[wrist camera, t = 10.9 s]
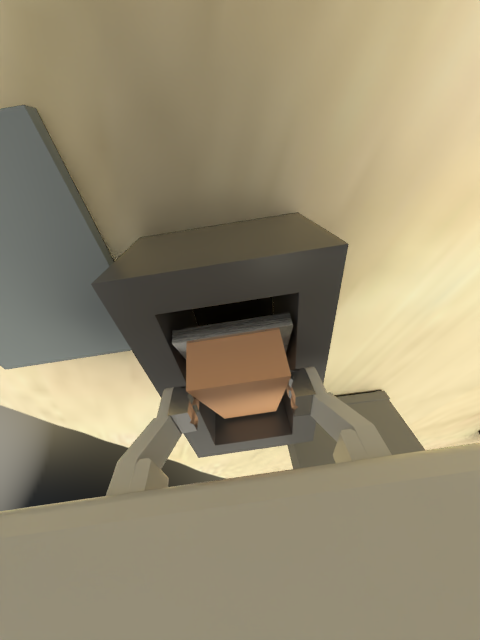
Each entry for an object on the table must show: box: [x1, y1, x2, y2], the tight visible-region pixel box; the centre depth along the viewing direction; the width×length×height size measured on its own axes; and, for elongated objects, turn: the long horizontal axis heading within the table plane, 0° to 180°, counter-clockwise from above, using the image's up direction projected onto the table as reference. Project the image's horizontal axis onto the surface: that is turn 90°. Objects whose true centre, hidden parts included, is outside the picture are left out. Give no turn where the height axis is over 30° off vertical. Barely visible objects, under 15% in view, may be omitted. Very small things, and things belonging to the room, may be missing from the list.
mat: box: [0, 105, 131, 369], centre depth 15 cm, size 14×16×1 cm
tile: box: [186, 329, 291, 419], centre depth 16 cm, size 12×5×2 cm, turn 7°
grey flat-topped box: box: [288, 390, 425, 469], centre depth 20 cm, size 14×6×25 cm, turn 95°
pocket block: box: [91, 213, 348, 458], centre depth 17 cm, size 19×11×7 cm, turn 7°
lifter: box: [172, 313, 293, 359], centre depth 17 cm, size 13×6×2 cm, turn 7°
